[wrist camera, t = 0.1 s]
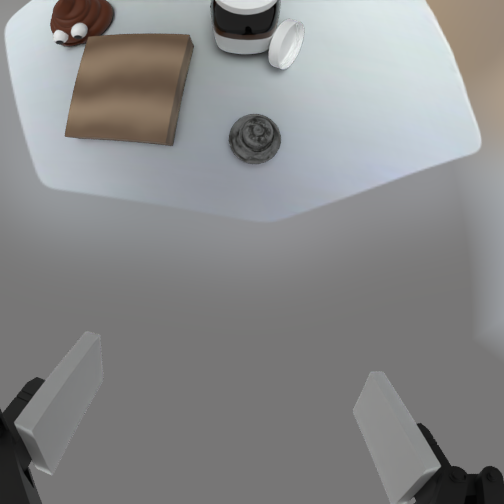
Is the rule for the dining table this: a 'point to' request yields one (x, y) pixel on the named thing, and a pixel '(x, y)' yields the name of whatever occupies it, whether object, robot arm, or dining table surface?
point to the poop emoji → (79, 20)
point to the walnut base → (130, 88)
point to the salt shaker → (254, 139)
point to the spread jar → (256, 30)
